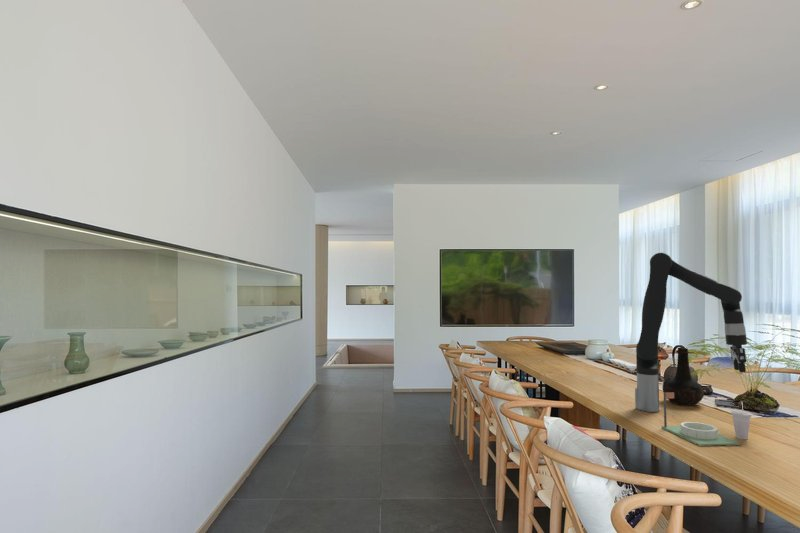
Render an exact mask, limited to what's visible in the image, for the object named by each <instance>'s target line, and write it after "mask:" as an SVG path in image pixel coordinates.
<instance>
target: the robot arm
mask: <svg viewBox="0 0 800 533" xmlns="http://www.w3.org/2000/svg"><path fill="white" fill-rule="evenodd" d="M669 276H670V277H672V278H676V279H678V280H679V281H682V282H684V283H685V284H687V285H689V286H690V287H693V288H694V289H696V290H698V291H700V292H702V293H705V294H707V295H709V296H712V297H715V298H716V299H718V300H720V303H721V308H722V312H723V321H724V334H725V344H726V345H728V346H729V348H730V359H731V360H732V361H733V368H734V371H738V372H740V373H746V363H747V357H746V356H747V355H746V349H745V347H743V346H745V345H747V344H748V340H747V332H746V327H745V323H744V322H745V321H744V314H743V311H741V305H740V303H741V301H742V300H743V299H742V298H743V296H742V293H741V292H740V291H739V290H737V289H736V288H734V287H732V286H729V285H726V284H724V283H721V282H719V281H717V280H715V279H714V278H711V277H709V276H707V275H704V274H703V273H700V272H697V271H694V270H692V269H690V268H688V267H685V266H683V265H681V264H680V263H678V262H676V261H675V260H673V259H672V258H671V256H670V255H669V254H667V253H666V252H657V253H654V254H653V255H652V256H651V258H650V259H649V279H648V284H647V287H646V290H645V294H644V298H643V303H642V309H641V310H642V311H641V312H642V313H641V330H640V335H639V340H638V342H637V344H636V347H635V352H636V353H635V356H636V387H635V388H634V395H635V396H634V400H635V401H634V402H635V403H634V404H635V405H634V408H635V409H637V410H639V411H642V412H647V413H649V412H650V413H656V412H657V413H659V411H660V388H659V385H660V384H659V383H660V382H659V380H660V378H659V377H660V376H659V336H660V335H659V334H660V329H661V327H662V322H663V319H664V314H665V310H666V303H667V282H668V278H669Z"/></svg>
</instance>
